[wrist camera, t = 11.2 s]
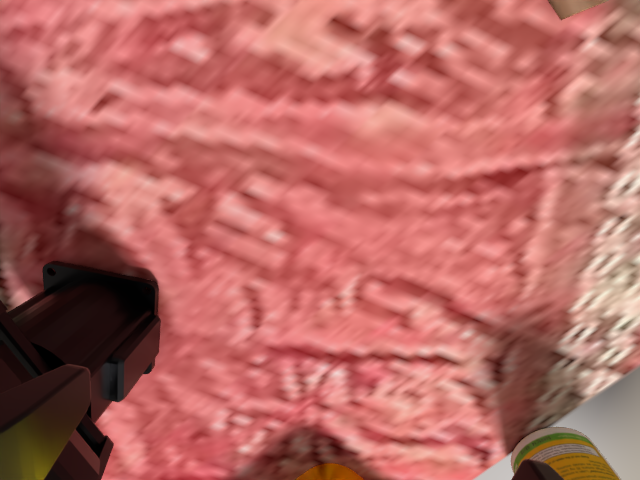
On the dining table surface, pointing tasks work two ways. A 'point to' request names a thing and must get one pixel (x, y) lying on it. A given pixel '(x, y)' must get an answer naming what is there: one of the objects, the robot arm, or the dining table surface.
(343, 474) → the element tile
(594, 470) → the supplement bottle
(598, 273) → the dining table surface
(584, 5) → the cup holder
